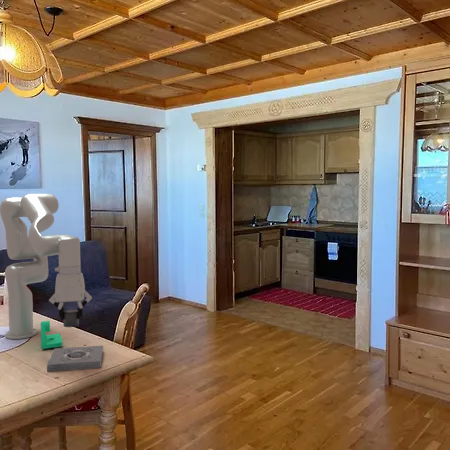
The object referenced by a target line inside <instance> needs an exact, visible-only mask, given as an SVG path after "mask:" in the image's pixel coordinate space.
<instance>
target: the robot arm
mask: <svg viewBox="0 0 450 450" xmlns="http://www.w3.org/2000/svg"><path fill="white" fill-rule="evenodd" d="M59 205H60V204H59V200H58V199H57V197H56V196H55V195H54V194H52V193H28V194H26V195H25V194H24V195H23V196H14V197H8V198H7V197H6V198H5V199H3V200H2V201H1V202H0V219H1V221H2V223H3V226H4V228H5V229H4V230H5V243H6V253H7V255H8V256H7V257H8V258H9V259H10V260H15V261H18V260H19V261H20V260H29V259H30V260H31V259H33V261H25V262H24V261H22V262H16V263H12V264H10V265H8V266H6V268H5V271H4V277H5V281H6V286H7V300H8V303H7V304H8V331H7V332H5V335H4V336H5V338H6V339H9V340H23V339H28V338H31V337H34V336H36V335H37V334H38V329H36V328H34V311H33V310H34V309H33V308H34V303H33V292H32V291H31V289H30V288H29V287H28V286H27V285H30V284H36V283H42V282H44V281H46V280H47V279H48V277H49V260H48V257H52V256H58V267H57V266H56V267H54V272H57V273H58V274H56V278H55V290H54V293H53V294H52V296H50V298H49V299H48V302H49V303H51V304H52V305H54V307H56V308H57V309H58V313H59V314H58V316H59V317H58V318H60V321H64V311H65V308H64V304H65V303H77V305H78V308H77V310H78V319H79V320H81V319H82V317H83V316H84V315H83V313H84V312H83V310H84V309H83V308H84V307H85V306H86V305H87V304H88V303H89V302H90V301H91V300H92V299H93V297H92V295H90V294H89V292H87V290H86V285H85V278H84V275H83V273H82V271H81V270H82V269H81V267H82V266H81V265H82V264H81V241H80V238H79V237H78V236H74V235H73V236H72V235H70V234H51V235H42V233H43V232H45V231H46V230H49V228H51V227H52V226H53V225H54V223H55V216H54V214H56V213H57V212H58V210H59ZM22 218H27V219H28V220H29V222H30V224H31V225H30V227H29V229H28V227H27V224H26V223H25V222H24V220H22Z"/></svg>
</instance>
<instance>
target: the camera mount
mask: <svg viewBox="0 0 450 450" xmlns="http://www.w3.org/2000/svg"><path fill="white" fill-rule="evenodd" d="M49 332H51V321H50V320H46V321H45V320H43V321H41V322H40V342H41V343H40V345H41V349H42V350H44V349H51V348H52V349H53V348H61V347H63V339H62V338H63V337H62V335H61V333H55V334H47V333H49Z"/></svg>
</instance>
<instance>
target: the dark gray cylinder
mask: <svg viewBox="0 0 450 450" xmlns="http://www.w3.org/2000/svg"><path fill="white" fill-rule="evenodd" d="M79 325H80V319H78V309H67V310H64V319H63V327H65V328H75V327H78V326H79Z"/></svg>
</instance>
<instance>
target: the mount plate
mask: <svg viewBox="0 0 450 450" xmlns="http://www.w3.org/2000/svg"><path fill="white" fill-rule="evenodd" d="M103 356H104V345H91V346H89V345H88V346H75V347H73V346H72V347H54V349H53V351H52V353H51V355H50V358H49V359H48V362H47V363H46V372H47V373H48V372H62V371H75V370H89V369H90V370H92V369H101V367H102V361H103Z"/></svg>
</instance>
